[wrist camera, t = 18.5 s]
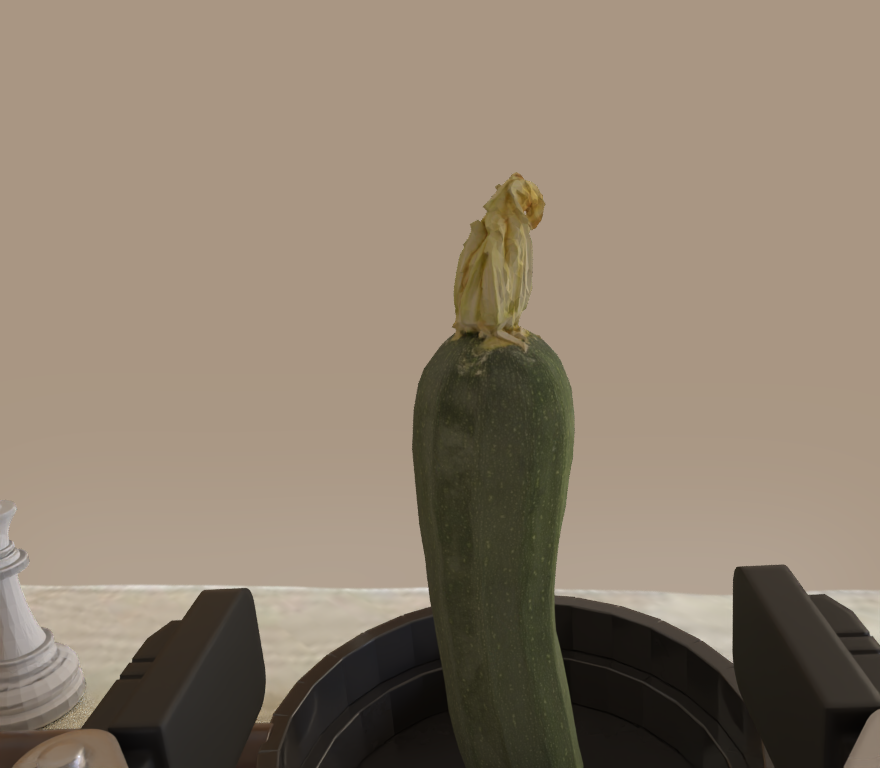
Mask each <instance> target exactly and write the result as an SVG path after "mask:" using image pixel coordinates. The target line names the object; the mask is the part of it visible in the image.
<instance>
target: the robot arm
mask: <svg viewBox="0 0 880 768" xmlns="http://www.w3.org/2000/svg"><path fill="white" fill-rule="evenodd" d="M733 664H734V671H735V676H736V681H737V685H738V688H739V691H740V694H741V696H742V698H743V700H744V703H745V705H746V707H747V709H748V711H749V713H750V716H751V718H752V720H753V722H754V724H755V726H756V729H757V731H758V733H759V735H760V737H761V739H762V742H763V744H764V746H765V748H766V750H767V752H768V755H769V757H770V759H771V761H772V763H773V765H774V768H880V645H879V644H878V642H877V641H876V640H875V639H874V637H873V636H870V634H869V631H868V630H867V629H866V627H865V626H864V625H863V624H862V622H861V621H860V620H859V619H858V617H857V616H856V615H855V614H854V612H853V611H851V610H850V609H848V608H846V607H845V606H843V605H842V604H840V603H838V602H837V601H835V600H833V599H832V598H830V597H829V596H827V595H825V594H819V595H808V594H807V593H806V592H805V590H804V589H803V587H802V586H801V585H800V583H799V582H798V580H797V579H796V578H795V576H794V575H793V574H792V572H791V571H790V570H789V568H788V567H787V566H786V565H765V566H744V567H743V566H742V567H736V569H735V571H734V577H733ZM265 683H266V675H265V665H264V659H263V653H262V647H261V641H260V635H259V629H258V623H257V617H256V611H255V605H254V600H253V596H252V594H251V592H250V590H249V589H247V588H237V589H215V590H204V591H202V592H201V593H200V595H199V596H198V597H197V599H196V600H195V602H194V603H193V605H192V606H191V608H190V609H189V610H188V612H187V613H186V615H185V616H184V618H183V619H182V620H176V621H171V622H169V623H168V624H167V625H165V626H164V627H162V628H161V629H160V630H158V631H157V632H156V633H154V634H153V635H151V636H150V637H149V638H147V640H146V641H145V642H144V644H143V645H142V646H141V648H140V649H139V650H138V652H137V653H136V654H135V656H134V657H133V658H132V663H129V664H128V665H127V667H126V668H125V669H124V671H123V672H122V673H121V675H120V680H116V682H115V683H114V684H113V686H112V687H111V688H110V690H109V691H108V692H107V694H106V695H105V696H104V698H103V699H102V701H101V702H100V703H99V705H98V706H97V707H96V709H95V710H94V711H93V713H92V714H91V715H90V717H89V718H88V720H87V721H86V722H85V724H84V725H83V726H82V728H81V729H80V730H75V731H71V732H67V733H64V734H61V735H58V736H55V737H53V738H51V739H49V740H47V741H45V742H43V743H41V744H39V745H37V746H36V747H34V748H33V749H31V750H30V751H28V752H27V753H26V754H25V755H24V756H22V757H21V758H20V759H19V760H18V761H17V762H16V763H15V764H14V766H13V767H12V768H236V765H237V763H238V761H239V758H240V756H241V754H242V751H243V749H244V747H245V744H246V742H247V740H248V738H249V735H250V733H251V731H252V728H253V726H254V724H255V721H256V719H257V717H258V714H259V712H260V710H261V707H262V704H263V700H264V694H265Z"/></svg>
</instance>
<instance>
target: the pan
mask: <svg viewBox="0 0 880 768" xmlns="http://www.w3.org/2000/svg"><path fill="white" fill-rule="evenodd" d="M554 609H555V624H556V633H557V637H558V641H559V645H560V650H561V654H562V658H563V663H564V668H565V673H566V678H567V683H568V688H569V694H570V699H571V705H572V711H573V717H574V723H575V728H576V734H577V740H578V745H579V749H580V753H581V757H582V761H583V768H774V765H773V763H772V761H771V759H770V757H769V755H768V752H767V750H766V748H765V746H764V744H763V742H762V739H761V737H760V735H759V733H758V731H757V729H756V726H755V724H754V722H753V720H752V718H751V716H750V713H749V711H748V709H747V707H746V705H745V703H744V700H743V698H742V696H741V694H740V691H739V688H738V685H737V681H736V676H735V671H734V664H733V663H732V662H730V661H729V660H727V659H726V658H725V657H723V656H722V655H721V654H719V653H718V652H717V651H715V650H714V649H713V648H711V647H710V646H709V645H707V644H706V643H705V642H703V641H701V640H700V639H698V638H696V637H694V636H692V635H690V634H688V633H686V632H684V631H682V630H680V629H678V628H677V627H675V626H673V625H671V624H669V623H667V622H665V621H661V619H658V618H655V617H652V616H649V615H646V614H643V613H640V612H637V611H634V610H631V609H628V608H625V607H622V606H618V605H613V604H608V603H603V602H597V601H592V600H587V599H582V598H575V597H569V596H555V595H554ZM270 723H273V724H274V725H273V729H272V731H271V734H270V736H269V739H268V740H267V742H263V743H262V744H261V746H260V748H259V751H258V755H257V760H256V768H466V767H465V764H464V761H463V759H462V756H461V753H460V751H459V748H458V744H457V741H456V738H455V734H454V730H453V726H452V722H451V718H450V713H449V709H448V702H447V694H446V687H445V680H444V675H443V669H442V664H441V659H440V653H439V648H438V642H437V636H436V630H435V624H434V618H433V613H432V608H431V607H428V608H425V609H421V610H418V611H414V612H411V613H407V614H404V616H399V617H397V618H395V619H392V620H390V621H388V622H386V623H383V624H381V625H379V626H376V627H374V628H372V629H370V630H367V631H365V633H361V634H360V635H358V636H356V637H355V638H353V639H352V640H350V641H348V642H347V643H345V644H344V645H342V646H340V647H339V648H337V649H336V650H334V651H333V652H331V653H329V655H326V656H325V657H324V658H323V659H322V660H321V661H320V662H319V663H317V664H316V665H315V666H314V667H313V668H312V669H311V670H310V671H308V672H307V673H306V674H305V675H304V676H303V677H302V678H301V679H300V680H298V682H297V683H296V684H295V685H294V686H293V688H292V689H291V691H290V692H289V693H288V695H287V696H286V697H285V699H284V700H283V701H282V703H281V704H280V706H279V707H278V708H277V710H276V711H275V712H274V714H273V717H272V719H271V721H270Z"/></svg>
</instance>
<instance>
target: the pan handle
mask: <svg viewBox="0 0 880 768" xmlns="http://www.w3.org/2000/svg"><path fill="white" fill-rule="evenodd" d="M273 725H274V724H273V723H255V724H254V726H253V728H252V731H251V733H250V735H249V738H248V740H247V742H246V744H245V747H244V749H243V751H242V754H241V756H240V758H239V761H238V763H237V765H236V768H256V760H257V755H258V751H259V748H260V746H261V744H262V743H263V742H267V740H268V739H269V736H270V734H271V731H272V729H273ZM75 730H80V729H48V730H15V731H0V768H12V767H13V766H14V764H15V763H16V762H17V761H18V760H19V759H20V758H21V757H22V756H24V755H25V754H26V753H27V752H28V751H30V750H31V749H33V748H34V747H36V746H37V745H39V744H41V743H43V742H45V741H47V740H49V739H51V738H53V737H55V736H58V735H61V734H64V733H67V732H71V731H75Z"/></svg>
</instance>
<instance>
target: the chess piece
mask: <svg viewBox="0 0 880 768" xmlns="http://www.w3.org/2000/svg"><path fill="white" fill-rule="evenodd" d="M16 510H17V507H16V504H15V503H14V502H13V501H9V500H0V731H15V730H36V729H39V728H41V727H44V726H46V725H48V724H50V723H52V722H53V721H55V720H57V719H59V718H60V717H62V716H63V715H64V714H66V713H67V712H69V711H70V710H71V709H72V708H73V707H74V706H75V705H76V704H77V703H78V701H79V700H80V698H81V697H82V695H83V694H84V691H85V687H86V682H85V678H84V674H83V671H82V668H81V667H79V665H80V662H79V658H78V655H77V653H76V652H75V651H74V650H72V649H71V648H70V647H69V646H67V645H64V644H61V643H58V642H54V635H53V632H52V631H51V630H50V629H48V628H45V627H40V626H39V625H38V623H37V621H36V620H35V618H34V616H33V614H32V612H31V611H30V608H29V606H28V604H27V601H26V599H25V597H24V594H23V592H22V589H21V585H20V582H19V579H18V575H17V574H18V573H20V572H21V571H22V570H24V569H25V568H26V567H27V566H28V564H29V556H28V553H27V552H26V551H25V550H23V549H17V548H15V545H14V542H13V541H11V540H9V538H8V529H9V525H10V523H11V520H12V518H13V516H14V514H15V512H16Z"/></svg>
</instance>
